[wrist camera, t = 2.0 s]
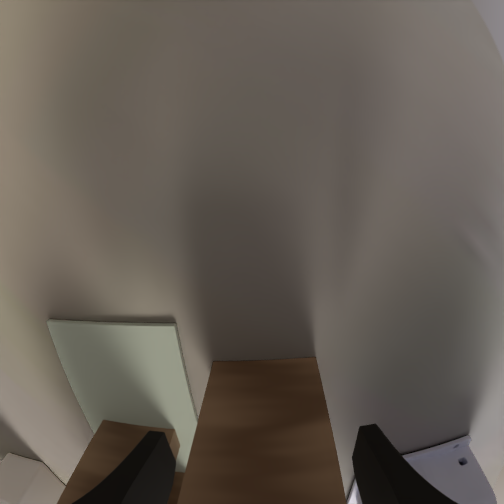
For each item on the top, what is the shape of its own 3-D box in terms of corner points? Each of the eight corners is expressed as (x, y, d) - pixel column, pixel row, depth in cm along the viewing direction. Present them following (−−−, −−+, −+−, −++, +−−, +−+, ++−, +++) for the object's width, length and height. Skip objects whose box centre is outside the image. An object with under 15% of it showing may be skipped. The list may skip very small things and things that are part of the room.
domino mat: (176, 323, 14) (174, 326, 14) (234, 535, 21) (234, 538, 21) (48, 318, 15) (46, 321, 14) (159, 527, 21) (158, 529, 21)
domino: (174, 429, 16) (134, 556, 7) (180, 445, 16) (146, 566, 8) (103, 419, 16) (45, 524, 7) (111, 435, 17) (61, 536, 8)
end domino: (315, 356, 14) (349, 522, 6) (314, 381, 15) (341, 539, 6) (213, 361, 15) (172, 523, 6) (217, 385, 15) (185, 540, 6)
